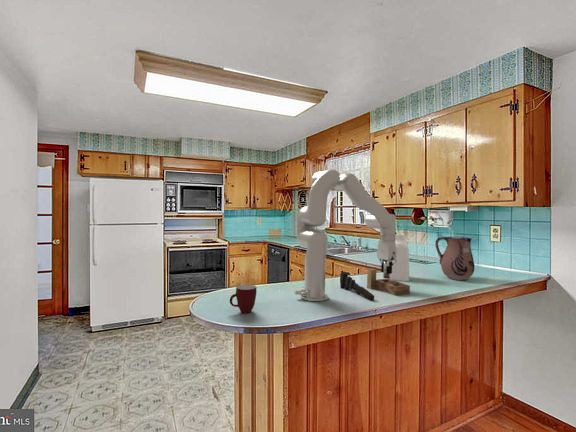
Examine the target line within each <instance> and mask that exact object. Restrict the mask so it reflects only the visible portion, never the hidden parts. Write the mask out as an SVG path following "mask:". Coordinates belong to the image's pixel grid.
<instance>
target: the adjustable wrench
mask: <svg viewBox="0 0 576 432" xmlns="http://www.w3.org/2000/svg"><path fill="white" fill-rule="evenodd" d="M348 275H349V273H348V272H347V271H341V272H340V277H339V284H340V285H339V286H340V289H343V290H347V291H348V290H353V291H355V292H354V293H355V294H358V295H362V296H363V297H364V298H365V299H366V300H367V301H371V302H372V301H375V294H372V293H371V292H370V291H369V290H368V289H366V288H365V287H363V286H361V285H359V284H358V283H357V282H356V280H355V279H353V278H352V277H351V276H348Z"/></svg>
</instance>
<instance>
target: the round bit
mask: <svg viewBox="0 0 576 432" xmlns="http://www.w3.org/2000/svg"><path fill="white" fill-rule="evenodd" d="M389 262H390V261H389ZM386 266H387V260H384V270H383V272H382V273H383V275H382V279H388V278H390V274H386Z"/></svg>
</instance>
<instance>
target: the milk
mask: <svg viewBox="0 0 576 432" xmlns="http://www.w3.org/2000/svg"><path fill="white" fill-rule="evenodd" d="M395 242H396V261H397V262H396V263H394V264H393V266H392V274H390V278H388V279H391V280H394V281H397V282H400V281H405V282H409V281H410V250H409V246H408V243H407V240H406V238H405V236H404V234H395ZM390 262H391V261H390Z"/></svg>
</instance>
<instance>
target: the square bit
mask: <svg viewBox="0 0 576 432" xmlns="http://www.w3.org/2000/svg"><path fill="white" fill-rule="evenodd" d="M366 273H367V275H366V277H367V278H366V279H367V280H366V288H367V289H369V290H376V289H377V288H376V280H377V269H375V268H367V272H366Z"/></svg>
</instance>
